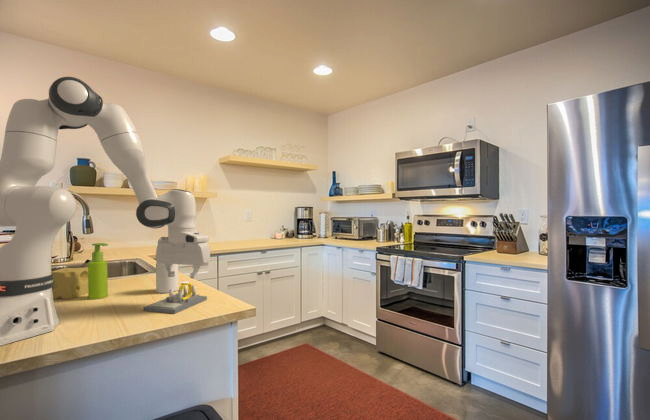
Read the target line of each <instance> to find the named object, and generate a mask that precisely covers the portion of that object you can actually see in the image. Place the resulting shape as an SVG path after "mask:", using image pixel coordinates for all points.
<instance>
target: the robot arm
mask: <svg viewBox="0 0 650 420" xmlns="http://www.w3.org/2000/svg"><path fill="white" fill-rule="evenodd" d="M6 120H7V121H6V126H5V131H4V137H3V144H2V149H1V150H2V151H1V155H0V227H1V228H2V227H15V232H14V234H13V236H12V238H10V241H9V242H7V243H6V242H5V244H3V245H1V247H0V346H3V345H8V344H10V343H14V342H17V341H22V340H26V339H28V338H29V339H30V338H32V337H35V336H39V335H43V334H46V333H49V332H53V331H55V329H56V327H57V326H58V325H59V324H60V319H59V316H58V314H57V313H58V312H57V310H56V306H55V301H54V300H55V299H53V293H52V291H53V287H54V280H53V274H51V271H52V251H53V250H52V249H53V245H54V243H55V239H56V237H57V235H58V234H59V232H60V230H61V229H62V228H63V227H64V226H65V225H66V224H67V223H69V222H70V221H71V220H73V218H74V216H75V215H76V212H77V206H78V205H77V201H76V198H75V196H74V195H73V194H72V193H71V192H70V191H69V190H67V189H64V188H60V187H54V186H49V185H48V186H47V185H42V186H41V185H37V183H39V182H38V181H40V180H41V178H42V177H44V176H45V175H47V174H49V173H50V172H51V171H53V169H54V167H55V164H56V155H57V154H56V153H57V143H58V135H59V134H58V132H59V130H78V129H79V130H80V129H83V128H85V127H87V126H89V127H90V128H92V130H94V133H96V135H97V138H98V141H99V142H100V145H101V147H102V149H103V150H104V153H105V154H106V156H107V157H108V159H109V160H110V161H111V163H112V164H113V165H114V166H115V167H117V169H118V170H119V171H120V172H121V173H122V174H123V175H124V176H125V178H126V179H127V181H128V182H129V183H130V184H129V185H130V186H131V188H132V190H133V192H134V195H135V196H136V199H137V201H138V206H137V208H136V211H135V216H136V219H137V220H138V222H139V223H140V224H141V225H142V226H144V227H147V228H150V229H161V228H163V227H165V226H167V236H161V237H160V238H159V239H158V241H157V246H156V249H155V250H156V251H155V261H156V262H157V263H159V264H165V268H166V270H167V272H168V277H174V276H175V271H173V270H172V267H171V266H172V264H178V265H184V266H185V265H186V266H188V265H189V266H192V269H193V270H192V272H190V273H189V274H190V276H189V277H190V279H197V278H198V273H199V271H200V269H201V266H206V265H209V263H210V261H211V247H210V245H209V239H210V237H209V235H208V234H207V235H206V234H205V233H202V232H199V231H198V230H197V226H196V217H197V207H196V206H197V203H196V199H195V196H194V195H195V194H193V193H192V192H190V191H187V190H185V189H179V188H173V189H170V190H169V191H167V192H165V193H164V194H161V195H158V194H157V192H156V189H155V187H154V185H153V183H152V181H151V179H150V175H149V173H148V170H147V165H146V164H147V163H146V158H145V151H144V147H143V143H142V140H141V138H140V135H139V133H138V130H137V128H136V127H135V125H134V123H133V121H132V119H131V118H130V116H129V115H128V113H127V112H126V111H125V109H124V108H123V106H121V105H120V104H117V103H112V102H111V103H109V102H107V103H104V100H103V97H102V96H100V95H99V94H98V93H97V92H95V91H94V90H93V89H92V87H91V86H90V85H89V84H87V83H86V82H85V81H83V80H81V79H80V78H77V77H74V76H63V77H62V76H61V77H59V78H57V79H56V80H54V81H53V82H52V83H51V85H50V87H49V89H48V98H45V99H42V100H41V99H40V100H39V99H34V98H33V99H32V98H22V99H19V100H16V101H15V102H14V103H13V104H12V107H11V109H10V112H9V115H8V118H7V119H6Z"/></svg>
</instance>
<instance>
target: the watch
mask: <svg viewBox="0 0 650 420" xmlns="http://www.w3.org/2000/svg"><path fill="white" fill-rule="evenodd" d="M185 285H187V295H186V297H184V298H183V297H182V300H185V299H187V298H189V297H190V296H191V295H192V285H193V284H192V283H191V281H189V280H188V281H187V280H184V281H181V282H180V285H179V288H178V290H182V291H184V286H185Z"/></svg>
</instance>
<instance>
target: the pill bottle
mask: <svg viewBox="0 0 650 420" xmlns="http://www.w3.org/2000/svg"><path fill="white" fill-rule="evenodd" d="M171 267H172V270H173V271H175V276H174V277H168V272H167V270H166V268H165V264H159V263H157V262H156V263H155V285H156V286H155V287H156V288H155V290H156V293H159V294H169V290H170V289H173V293H174V292H178V290H179V287H180V285H179V264H172V266H171Z"/></svg>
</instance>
